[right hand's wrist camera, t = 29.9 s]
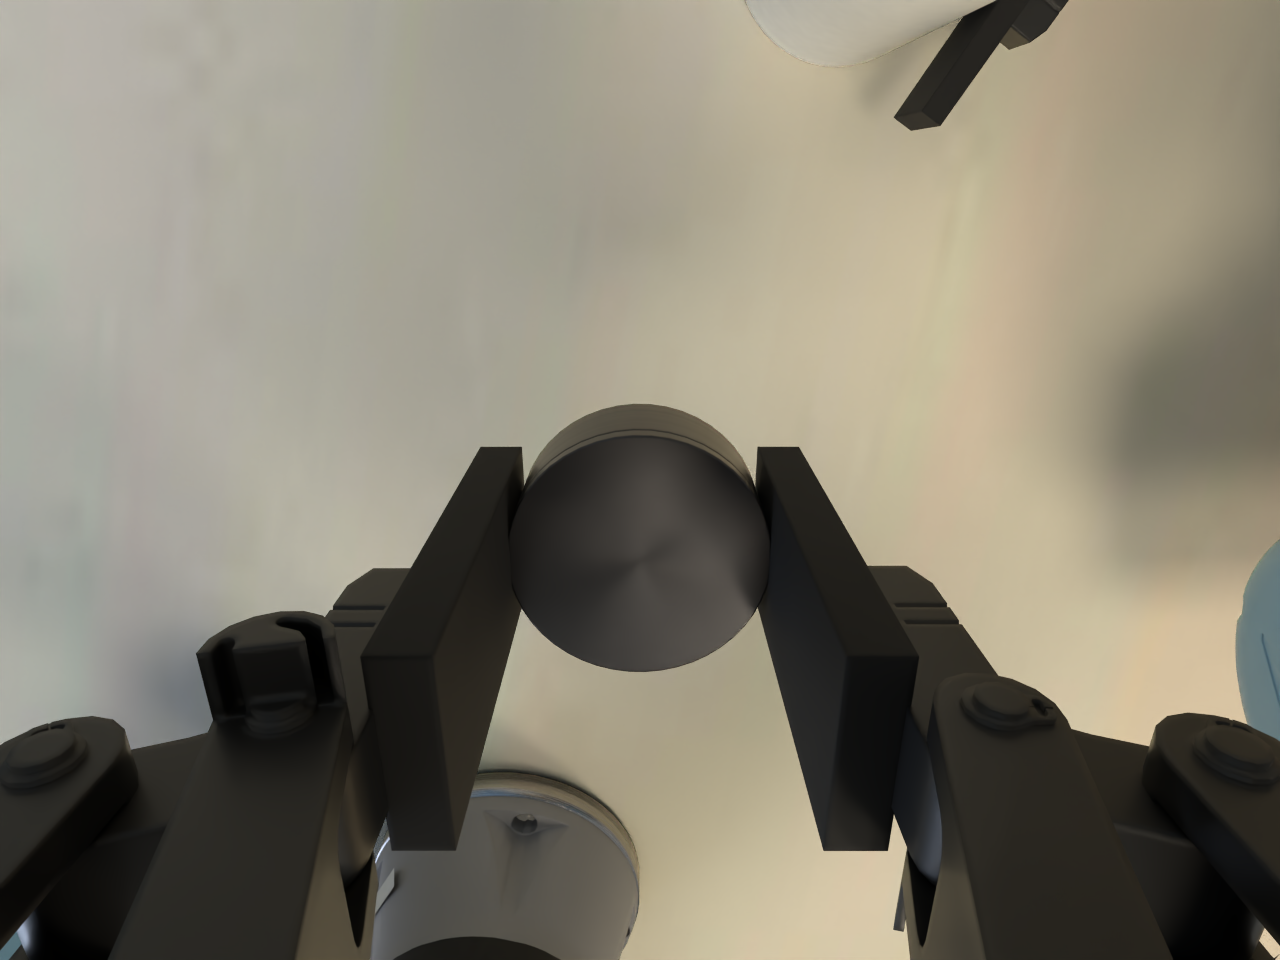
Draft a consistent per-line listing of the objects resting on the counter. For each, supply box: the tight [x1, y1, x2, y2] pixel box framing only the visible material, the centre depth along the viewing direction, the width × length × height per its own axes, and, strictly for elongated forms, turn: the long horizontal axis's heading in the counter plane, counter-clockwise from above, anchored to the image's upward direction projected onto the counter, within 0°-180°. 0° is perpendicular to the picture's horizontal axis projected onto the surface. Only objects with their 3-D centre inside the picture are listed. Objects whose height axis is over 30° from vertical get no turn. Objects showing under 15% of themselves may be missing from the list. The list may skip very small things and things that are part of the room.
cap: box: [508, 404, 771, 672], centre depth 14 cm, size 4×4×2 cm
